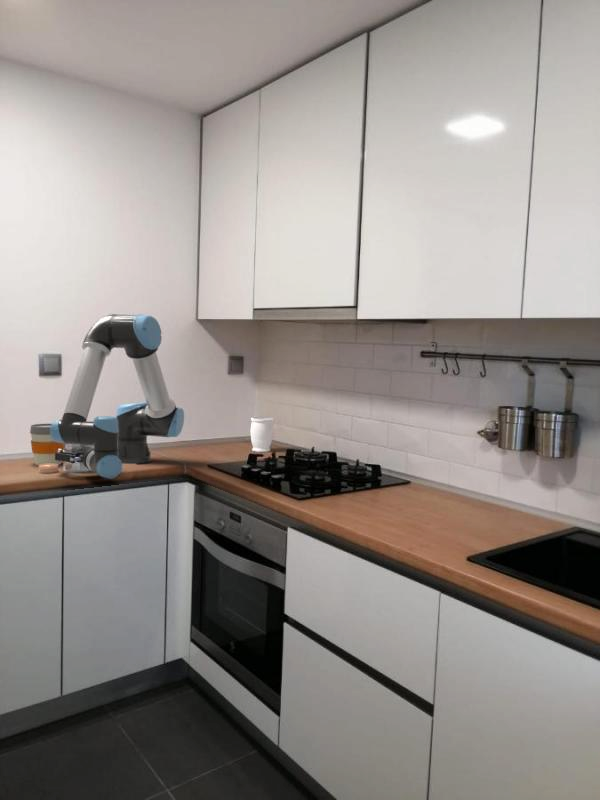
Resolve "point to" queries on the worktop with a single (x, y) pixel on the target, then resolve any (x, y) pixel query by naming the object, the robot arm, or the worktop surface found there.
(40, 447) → the reusable coffee cup
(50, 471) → the beige low rounded block
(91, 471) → the mat
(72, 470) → the faceted metal canister
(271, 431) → the jar
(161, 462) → the worktop surface
